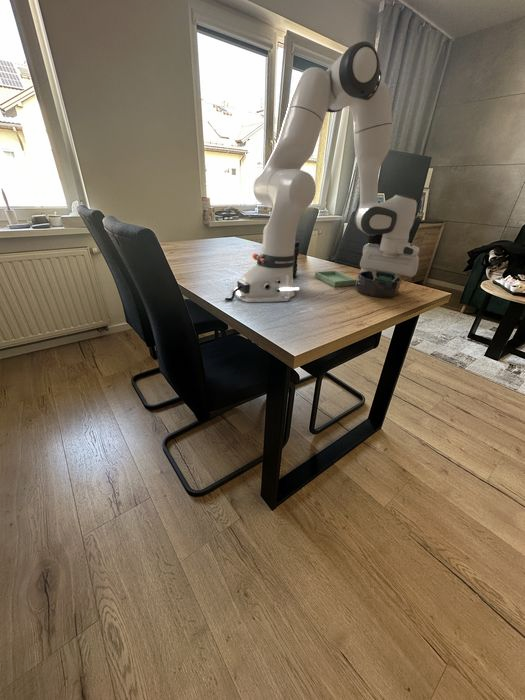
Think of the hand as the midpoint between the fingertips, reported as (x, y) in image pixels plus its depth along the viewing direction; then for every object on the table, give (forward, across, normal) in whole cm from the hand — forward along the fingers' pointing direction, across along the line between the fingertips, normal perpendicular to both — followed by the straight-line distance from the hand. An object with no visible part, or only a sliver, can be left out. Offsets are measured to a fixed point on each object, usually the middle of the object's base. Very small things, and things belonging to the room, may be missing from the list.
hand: (383, 283), depth 109 cm
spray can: (+4, -10, +15) cm, 19 cm away
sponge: (+2, 0, 0) cm, 2 cm away
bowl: (+4, -2, 0) cm, 4 cm away
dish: (+4, -20, +3) cm, 21 cm away
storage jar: (+4, -40, -5) cm, 41 cm away
